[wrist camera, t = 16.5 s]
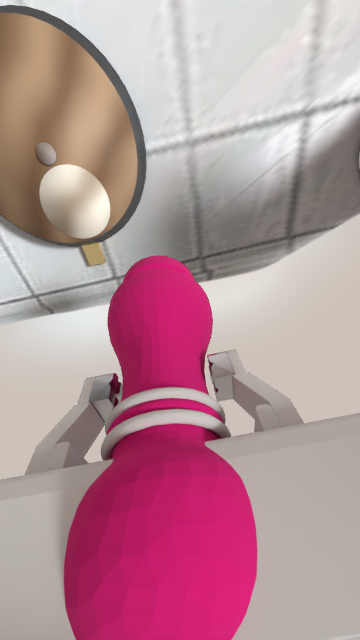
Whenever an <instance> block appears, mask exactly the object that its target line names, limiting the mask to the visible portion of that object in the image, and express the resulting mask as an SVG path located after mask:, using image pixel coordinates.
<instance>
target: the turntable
mask: <svg viewBox="0 0 360 640" xmlns="http://www.w3.org/2000/svg"><path fill="white" fill-rule="evenodd" d="M137 174H138V156H137V146H136V141H135V136H134V132H133V128H132V125H131V122H130V119H129V116H128V114H127V111H126V109H125V107H124V104H123V102H122V100H121V98H120V97H119V95H118V93H117V91H116V89H115V87H114V86H113V84H112V83H111V81H110V80H109V78H108V77H107V75H106V74H105V72H104V71H103V69H102V68H101V67H100V66H99V65H98V63H97V62H96V61H95V60H94V59H93V57H92V56H91V55H90V54H89V53H88V52H87V51H86V50H85V49H84V48H83V47H81V46H80V45H79V44H78V43H77V42H76V41H75V40H73V39H72V38H71V37H69V36H68V35H67V34H65V33H64V32H63V31H61V30H59V29H57V28H56V27H54V26H52V25H50V24H49V23H47V22H44V21H42V20H39V19H37V18H34V17H32V16H27V15H23V14H18V13H0V214H1V215H2V216H3V217H4V218H5V219H7V220H8V221H10V222H11V223H13V224H14V225H16V226H17V227H19V228H21V229H23V230H24V231H26V232H28V233H30V234H33V235H35V236H37V237H40V238H43V239H46V240H51V241H55V242H63V243H78V242H84V241H88V240H92V239H95V238H97V237H99V236H101V235H103V234H105V233H106V232H107V231H109V230H110V229H112V228H113V227H114V226H115V225H116V224H117V223H118V222H119V220H120V219H121V218H122V216H123V215H124V213H125V212H126V210H127V208H128V206H129V205H130V202H131V200H132V197H133V195H134V191H135V187H136V182H137Z"/></svg>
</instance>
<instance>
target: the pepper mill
mask: <svg viewBox="0 0 360 640" xmlns="http://www.w3.org/2000/svg"><path fill="white" fill-rule="evenodd" d="M212 324H213V318H212V312H211V307H210V303H209V300H208V297H207V295H206V293H205V292H204V290H203V289H202V288H201V286H200V285H199V284H198V283H197V282H196V281H194V278H193V276H192V274H191V272H190V271H189V269H188V268H187V267H186V266H185V265H183V264H182V263H181V262H179V261H178V260H176V259H174V258H170V257H167V256H151V257H147V258H144V259H142V260H140V261H138V262H137V263H135V264H134V265H133V266H132V267H131V268H130V269H129V270H128V272H127V273H126V275H125V277H124V280H123V283H122V284H121V285H120V286H119V287H118V289H117V290H116V292H115V293H114V295H113V297H112V299H111V302H110V307H109V312H108V330H109V335H110V341H111V344H112V346H113V348H114V351H115V353H116V355H117V357H118V360H119V363H120V366H121V370H122V376H123V388H122V398H121V402H120V403H119V404H118V405H117V406H115V407H114V409H113V410H112V411H111V412H110V414H109V416H108V418H107V420H106V424H105V432H106V437H105V439H104V441H103V444H102V446H101V456H102V459H103V461H104V460H110V459H113V462H112V464H111V465H110V466H108V467H107V468H106V469H105V470H104V472H103V473H102V474H101V475H100V476H99V477H98V478H97V479H96V480H95V481H94V482H93V483H92V484H91V486H90V487H89V488H88V490H87V491H86V493H85V495H84V496H83V498H82V500H81V502H80V503H79V505H78V508H77V510H76V513H75V516H74V519H73V522H72V525H71V527H70V530H69V535H68V541H67V547H66V553H65V561H64V593H65V607H66V612H67V616H68V619H69V622H70V625H71V628H72V631H73V634H74V636H75V639H76V640H232V638H233V637H234V635H235V633H236V632H237V630H238V628H239V627H240V625H241V623H242V621H243V619H244V617H245V615H246V613H247V610H248V606H249V603H250V600H251V596H252V592H253V589H254V585H255V581H256V577H257V554H258V551H257V536H256V525H255V520H254V515H253V510H252V506H251V502H250V498H249V496H248V493H247V490H246V488H245V485H244V483H243V481H242V479H241V477H240V476H239V474H238V473H237V472H236V471H235V470H234V468H233V467H232V466H231V465H230V464H229V463H228V462H227V461H226V460H225V459H223V458H222V457H221V456H219V455H218V454H217V453H215V452H214V451H213V450H211V449H210V448H208V447H206V446H205V442H206V441H212V440H217V439H223V438H228V437H231V434H230V432H229V430H228V428H227V427H226V426H225V413H224V411H223V408H222V407H221V405H220V404H219V403H218V402H217V401H216V400H215V399H214V398H212V397H211V396H209V394H208V390H207V387H206V382H205V374H204V363H205V354H206V351H207V348H208V345H209V342H210V339H211V334H212Z"/></svg>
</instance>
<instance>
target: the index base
mask: <svg viewBox="0 0 360 640" xmlns="http://www.w3.org/2000/svg"><path fill="white" fill-rule="evenodd" d="M0 13H18V14H23V15H27V16H32V17H34V18H37V19H39V20H42V21H44V22H47V23H49V24H50V25H52V26H54V27H56V28H57V29H59V30H61V31H63V32H64V33H65V34H67V35H68V36H69V37H71V38H72V39H73V40H75V41H76V42H77V43H78V44H79V45H80V46H81V47H83V48H84V49H85V50H86V51H87V52H88V53H89V54H90V55H91V56H92V57H93V59H94V60H95V61H96V62H97V63H98V65H99V66H100V67H101V68H102V69H103V71H104V72H105V74H106V75H107V77H108V78H109V80H110V81H111V83H112V84H113V86H114V87H115V89H116V91H117V93H118V95H119V97H120V98H121V100H122V102H123V104H124V107H125V109H126V111H127V114H128V116H129V119H130V122H131V125H132V128H133V132H134V136H135V141H136V146H137V156H138V174H137V182H136V187H135V191H134V195H133V197H132V200H131V202H130V205H129V206H128V208H127V210H126V212H125V213H124V215H123V216H122V218H121V219H120V220H119V222H118V223H117V224H116V225H115V226H114V227H113V228H112V229H110V230H109V231H107V232H106V233H105V234H103V235H101V236H99V237H97V238H95V239H92V240H88V241H84V242H78V243H63V242H55V241H51V240H46V239H43V238H40V237H37V236H35V235H33V234H31V235H33V236H35V237H37V238H39V239H42V240H45V241H48V242H51V243H55V244H59V245H66V246H82V248H83V250H84V253H85V255H86V258H87V260H88V262H89V265H90V266H92V265H97V264H102V263H105V262H106V259H105V256H104V254H103V251H102V248H101V246H100V243H99V242H101V241H103V240H105V239H108V238H109V237H111V236H113V235H114V234H116V233H117V232H118V231H119V230H120V229H122V228H123V227H124V226H125V224H126V223H127V222H128V221H129V220H130V218H131V217H132V215H133V214H134V212H135V210H136V208H137V206H138V204H139V201H140V199H141V195H142V192H143V189H144V183H145V178H146V149H145V142H144V136H143V132H142V128H141V124H140V120H139V118H138V115H137V112H136V109H135V107H134V104H133V102H132V100H131V98H130V96H129V94H128V91H127V89H126V87H125V86H124V84H123V82H122V81H121V79H120V77H119V76H118V74H117V72H116V71H115V70H114V68H113V67H112V66H111V64H110V63H109V62H108V60H107V59H106V58H105V56H104V55H103V54H102V53H101V52H100V51H99V50H98V49H97V48H96V47H95V46H94V45H93V44H92V42H90V41H89V40H88V39H87V38H86V37H85V36H83V35H82V34H81V33H80V32H79V31H77V30H76V29H75V28H73V27H72V26H70V25H69V24H67V23H65V22H64V21H62V20H61V19H59V18H57V17H55V16H52V15H50V14H48V13H46V12H44V11H40V10H37V9H33V8H30V7H25V6H15V5H7V6H0ZM15 226H16V225H15ZM18 228H19V227H18ZM20 229H21V228H20ZM22 230H23V229H22ZM23 231H24V230H23ZM25 232H26V231H25ZM27 233H28V232H27ZM29 234H30V233H29Z"/></svg>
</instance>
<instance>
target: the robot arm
mask: <svg viewBox="0 0 360 640" xmlns="http://www.w3.org/2000/svg"><path fill="white" fill-rule="evenodd" d="M359 169H360V152H359ZM207 356H208V362H209V370H210V376H211V380H212V383H213V385H214V391H215V395H216V399H217V401H222V400H228V399H234V400H235V401H236V402H237V403H238V404H239V405H240V406H241V407H242V408H243V409H244V410H245V411H246V412H248V413H249V414H250V415H251V416H252V417H253V418H254V419H255V429H254V433H250V434H244V435H239V436H234V437H228V438H223V439H217V440H212V441H206V442H205V446H206V447H208V448H210V449H211V450H213V451H214V452H215V453H217V454H218V455H219V456H221V457H222V458H223V459H225V460H226V461H227V462H228V463H229V464H230V465H231V466H232V467H233V468H234V470H235V471H236V472H237V473H238V474H239V476H240V477H241V479H242V481H243V483H244V485H245V488H246V490H247V493H248V496H249V498H250V502H251V506H252V510H253V515H254V520H255V525H256V536H257V551H258V554H257V577H256V581H255V585H254V589H253V592H252V596H251V600H250V603H249V606H248V610H247V613H246V615H245V617H244V619H243V621H242V623H241V625H240V627H239V628H238V630H237V632H236V633H235V635H234V637H233V638H232V640H360V413H357V414H352V415H347V416H341V417H335V418H330V419H325V420H320V421H314V422H309V423H304V422H303V421H302V419H301V417H300V415H299V414H298V412H297V410H296V409H295V407H294V405H293V403H292V402H291V400H290V399H289V398H288V397H286V396H285V395H283V394H282V393H280V392H279V391H277V390H276V389H274V388H273V387H271V386H270V385H268V384H266V383H265V382H263V381H262V380H260V379H259V378H257V377H256V376H254V375H253V374H251V373H249V372H248V373H246V371H245V369H244V366H243V364H242V362H241V359H240V357H239V355H238V353H237V351H236V350H231V351H226V352H221V353H215V354H211V355H207ZM122 388H123V386H122V384H121V383H120V382H118V376H117V374H115V373H113V374H107V375H102V376H97V377H91V378H87V379H86V380H85V383H84V385H83V389H82V392H81V395H80V398H79V401H78V405H76V406H74V407H73V408H72V409H71V410H70V411H69V412H68V413H67V414H66V415H65V416H64V417H63V419H62V420H61V421H60V422H59V423H58V424H57V425H56V426H55V427H54V428H53V429H52V430H51V431H50V432H49V433H48V434H47V436H46V437H45V438H44V439H43V440H42V441H41V442H40V443H39V444H38V445H37V446H36V448H35V451H34V453H33V456H32V458H31V461H30V463H29V465H28V468H27V470H26V473H25V475H24V476H18V477H13V478H7V479H2V480H0V640H76V639H75V636H74V634H73V631H72V628H71V625H70V622H69V619H68V616H67V612H66V607H65V593H64V561H65V553H66V547H67V541H68V535H69V530H70V527H71V525H72V522H73V519H74V516H75V513H76V510H77V508H78V505H79V503H80V502H81V500H82V498H83V496H84V495H85V493H86V491H87V490H88V488H89V487H90V486H91V484H92V483H93V482H94V481H95V480H96V479H97V478H98V477H99V476H100V475H101V474H102V473H103V472H104V470H105V469H106V468H107V467H108V466H110V465H111V464H112V462H113V459H110V460H104V461H99V462H94V463H88V462H87V461H86V460H85V459H84V456H85V455H86V453H87V452H88V450H89V448H90V447H91V445H92V444H93V442H94V441H95V439H96V438H97V436H98V434H99V433H100V431H101V430H102V428H103V427H104V425H105V423H106V420H107V418H108V416H109V414H110V412H111V411H112V410H113V409H114V407H115V406H117V405H118V404H119V403H120V402H121V398H122Z"/></svg>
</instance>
